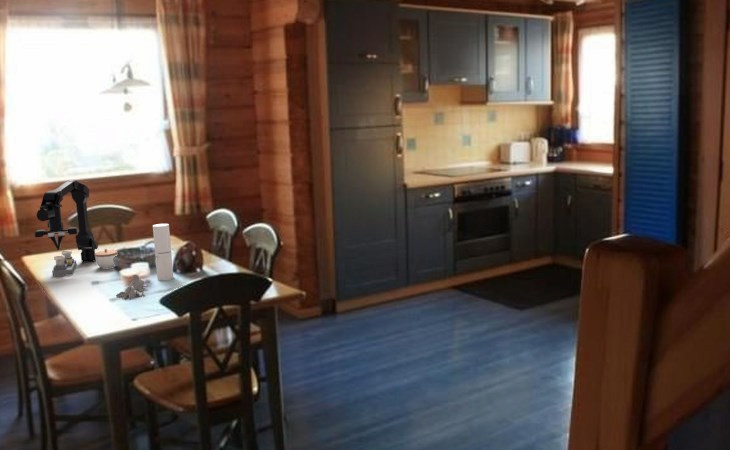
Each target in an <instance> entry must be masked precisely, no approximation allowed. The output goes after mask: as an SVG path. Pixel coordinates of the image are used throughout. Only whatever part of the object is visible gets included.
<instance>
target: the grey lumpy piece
mask: <svg viewBox="0 0 730 450" xmlns="http://www.w3.org/2000/svg"><path fill="white" fill-rule="evenodd" d="M148 286H149V285H148V284H145V281H144V280H143V279H140V277H139V275H138V274H133V275H132V281H131V282H130V284H128V286H127V287H126V289H125V290H124V291H120V292H119V293H117V294H116V295H115V296H116V298H121V299H122V300H124V301H125V300H127V299H129V300H132V299H134V298H136V297H142V296H144V297H146V295H145V294H144V291H143V289H144V288H147V287H148ZM131 298H132V299H131Z"/></svg>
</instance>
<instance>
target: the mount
mask: <svg viewBox="0 0 730 450" xmlns="http://www.w3.org/2000/svg"><path fill="white" fill-rule="evenodd" d="M76 268H77V260H76V259H75V258H72V265H71V266H67V261H64V266H61V267H56V264H55V265H53V269H52V272H51V274H52V277H58V276H68V275H69V276H71V275H73V274H74V272H75V269H76Z"/></svg>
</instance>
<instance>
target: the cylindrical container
mask: <svg viewBox="0 0 730 450" xmlns="http://www.w3.org/2000/svg"><path fill="white" fill-rule="evenodd" d="M152 232H153V233H152V235H153V244H154V255H155V266H156V277H157V278H156V279H157V280H158V281H169V280H173V279H174V268H173V257H172V256H173V255H172V245H171V234H170V232H171V231H170V224H169V223H157V224H153V225H152Z"/></svg>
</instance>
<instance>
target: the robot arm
mask: <svg viewBox="0 0 730 450" xmlns="http://www.w3.org/2000/svg"><path fill="white" fill-rule="evenodd" d="M67 194H70V195H71V199H72V200H73V202H74V203H75V206H76V216H77V222H78V226H71V227H68V228H67V229H64V223H63V219H62V211H61V208H62V207H63V205H62V204H61V202H63V200H64V197H65V196H66V195H67ZM89 198H90V188H89V187H88V186H87V185H85V184H83V183H80V182H79V181H77V180H76V179H73V180H72V179H71V180H66V181H65V182H64V183H62V184H61V185H60V186H58V187H57V188H55V189H52V190H48V191H45V192H44V194H43V196H42V199H41V204H40V206H39V209H38V211H37V212H36V218H37V220H39V221H40V222H46V221H47V228H48V229H49V230H45V229H37V230H36V231H35V232H34V238H43V237H44V236H47V239H51V241H52V242H53V244H54V246H55V248H56V249H57V251H59V250H60V249H61V244H62V241H63V239H64V238H65V237H66V235H67V234H68V235H75V243H76V247H77V250H78V251H81V252H80V260H81V262H82V263H88V262H89V263H91V262H96V259H95V253H96V250H98V249H99V244H98V242H97V241H96V239H95V238H94V234H93V233H92V232H91V230H90V225H89V215H88V208H87V207H88V206H87V205H88V204H87V201H88V200H89Z"/></svg>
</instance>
